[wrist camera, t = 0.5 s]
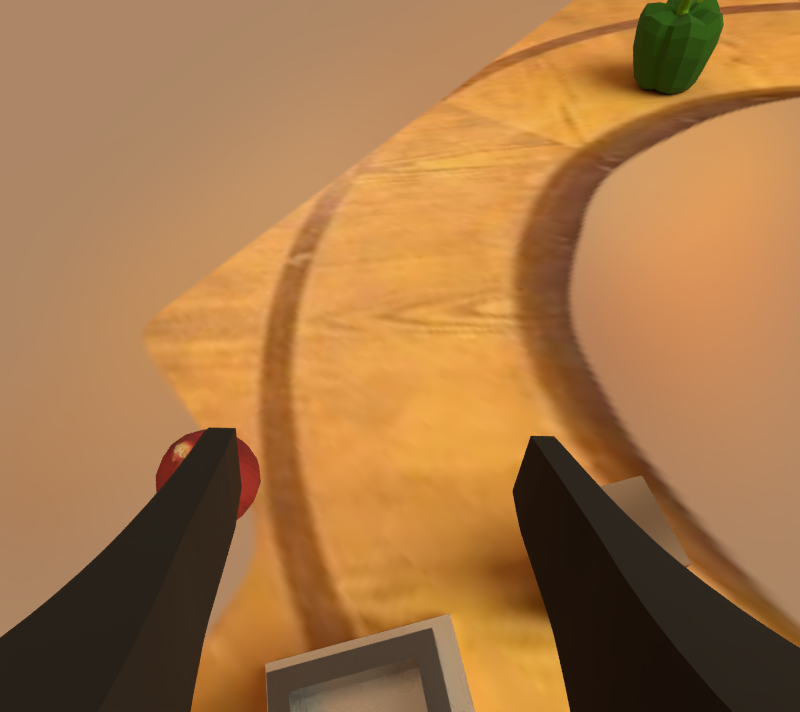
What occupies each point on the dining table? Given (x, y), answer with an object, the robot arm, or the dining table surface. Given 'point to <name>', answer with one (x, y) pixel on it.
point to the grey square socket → (375, 674)
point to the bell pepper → (675, 43)
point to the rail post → (646, 514)
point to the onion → (246, 462)
